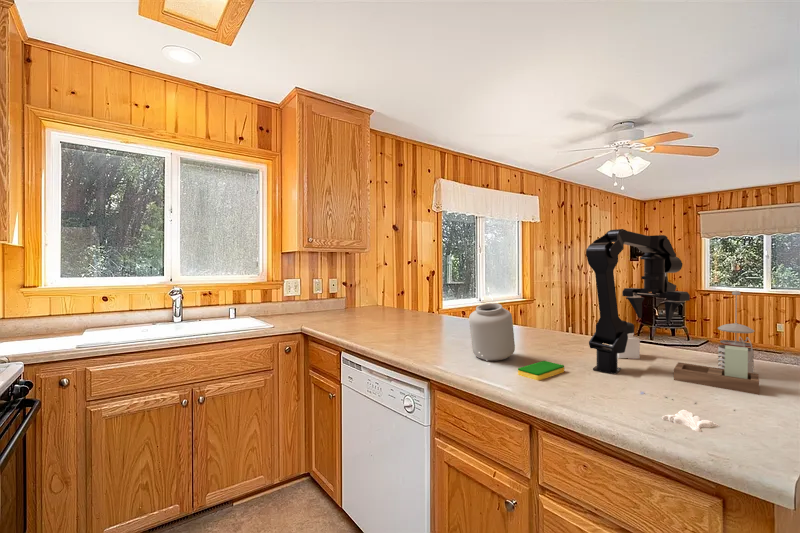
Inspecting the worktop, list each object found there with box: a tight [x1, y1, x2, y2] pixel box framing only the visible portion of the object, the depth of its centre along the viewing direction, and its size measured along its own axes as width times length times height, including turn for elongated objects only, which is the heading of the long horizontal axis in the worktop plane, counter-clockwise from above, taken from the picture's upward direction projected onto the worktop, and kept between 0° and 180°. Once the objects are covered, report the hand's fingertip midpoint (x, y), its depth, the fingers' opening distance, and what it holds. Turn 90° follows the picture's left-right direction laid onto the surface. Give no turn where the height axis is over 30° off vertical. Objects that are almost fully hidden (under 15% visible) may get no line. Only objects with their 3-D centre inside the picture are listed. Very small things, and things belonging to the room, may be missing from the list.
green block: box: [725, 345, 749, 379], centre depth 98 cm, size 4×4×10 cm
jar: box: [468, 287, 516, 365], centre depth 131 cm, size 19×15×25 cm
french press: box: [717, 290, 755, 373], centre depth 108 cm, size 10×12×25 cm
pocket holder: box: [673, 361, 760, 396], centre depth 101 cm, size 9×17×4 cm, turn 47°
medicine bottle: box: [610, 321, 641, 360], centre depth 132 cm, size 7×7×12 cm
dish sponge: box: [517, 360, 565, 381], centre depth 114 cm, size 7×14×2 cm, turn 126°
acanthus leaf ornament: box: [661, 409, 720, 433], centre depth 79 cm, size 8×7×2 cm
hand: (653, 320), depth 124 cm, fingers open, 9 cm apart
